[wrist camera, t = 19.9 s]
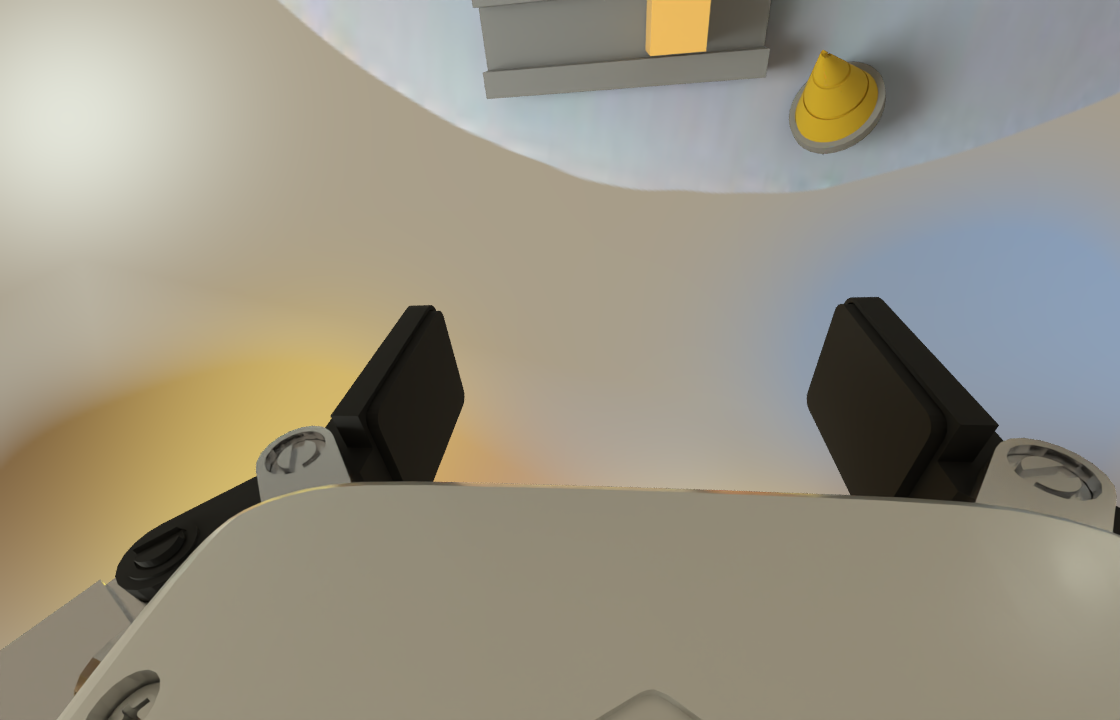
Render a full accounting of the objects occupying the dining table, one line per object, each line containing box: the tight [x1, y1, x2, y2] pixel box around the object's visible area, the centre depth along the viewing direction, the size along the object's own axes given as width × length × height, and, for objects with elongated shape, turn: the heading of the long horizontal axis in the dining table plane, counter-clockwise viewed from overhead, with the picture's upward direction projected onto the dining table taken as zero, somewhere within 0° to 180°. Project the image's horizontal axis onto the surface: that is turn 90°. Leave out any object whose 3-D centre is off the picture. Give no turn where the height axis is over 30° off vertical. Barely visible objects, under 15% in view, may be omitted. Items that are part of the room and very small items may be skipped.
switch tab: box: [645, 0, 711, 56], centre depth 26 cm, size 3×3×5 cm
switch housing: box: [472, 0, 771, 99], centre depth 29 cm, size 18×6×3 cm, turn 94°
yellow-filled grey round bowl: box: [789, 50, 886, 154], centre depth 28 cm, size 5×5×10 cm
